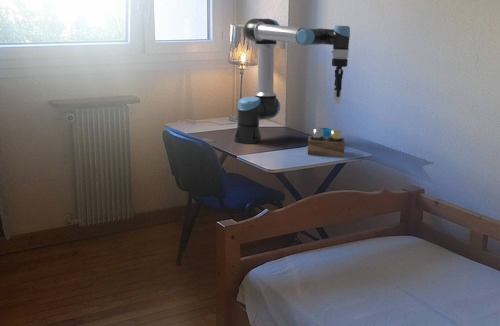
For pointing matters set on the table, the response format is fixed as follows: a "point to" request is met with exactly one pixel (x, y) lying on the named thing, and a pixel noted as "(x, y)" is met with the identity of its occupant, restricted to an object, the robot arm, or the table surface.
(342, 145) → the socket block
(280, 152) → the table surface
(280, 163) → the table surface
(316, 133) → the steel peg
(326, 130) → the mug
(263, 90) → the robot arm
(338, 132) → the brass peg
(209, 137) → the table surface
